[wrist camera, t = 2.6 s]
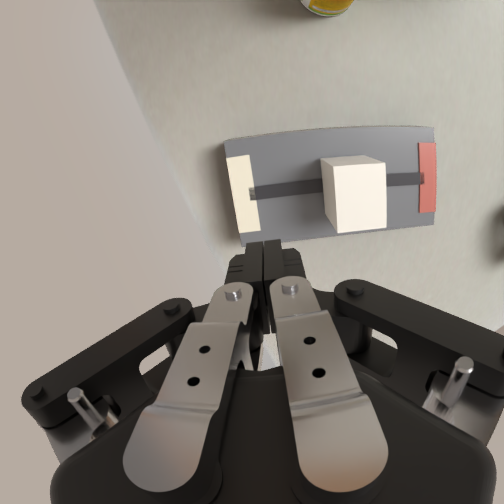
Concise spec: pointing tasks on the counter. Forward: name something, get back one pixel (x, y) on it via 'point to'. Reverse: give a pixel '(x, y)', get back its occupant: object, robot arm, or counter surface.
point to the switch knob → (354, 192)
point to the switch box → (311, 185)
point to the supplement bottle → (327, 6)
